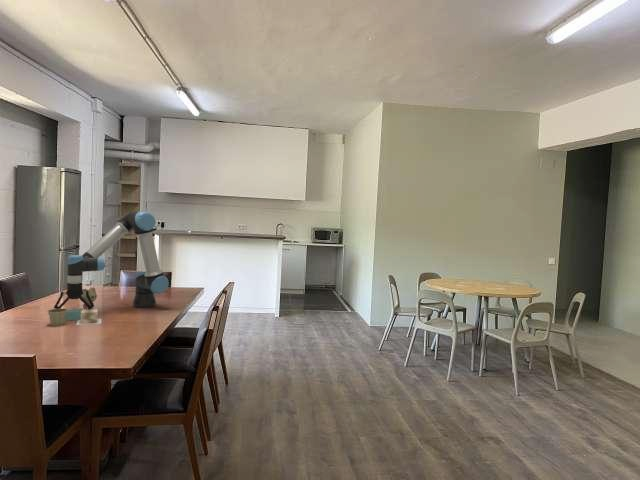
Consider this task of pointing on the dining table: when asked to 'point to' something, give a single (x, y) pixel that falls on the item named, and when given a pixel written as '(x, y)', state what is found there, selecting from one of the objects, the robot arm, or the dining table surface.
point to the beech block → (89, 316)
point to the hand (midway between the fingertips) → (74, 320)
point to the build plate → (89, 323)
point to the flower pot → (57, 316)
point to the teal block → (73, 314)
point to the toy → (92, 296)
